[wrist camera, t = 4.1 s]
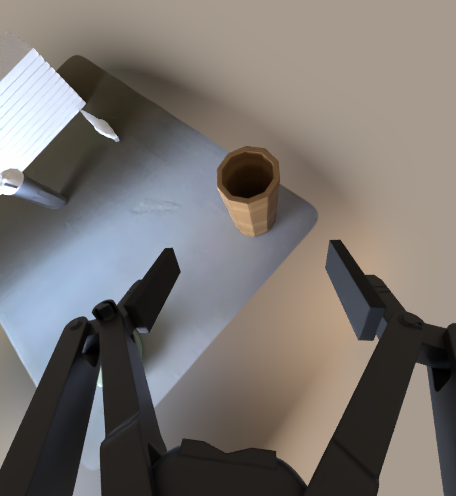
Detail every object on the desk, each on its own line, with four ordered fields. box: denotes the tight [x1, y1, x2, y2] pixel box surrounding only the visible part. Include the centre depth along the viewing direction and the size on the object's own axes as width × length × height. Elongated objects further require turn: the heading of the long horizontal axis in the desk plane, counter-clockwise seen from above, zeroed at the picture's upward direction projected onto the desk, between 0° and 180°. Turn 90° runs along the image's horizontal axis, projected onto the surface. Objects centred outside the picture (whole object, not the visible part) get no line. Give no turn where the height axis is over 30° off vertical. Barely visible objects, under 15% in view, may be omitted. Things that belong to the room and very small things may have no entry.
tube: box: [217, 146, 280, 237], centre depth 26 cm, size 6×7×12 cm
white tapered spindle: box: [78, 108, 120, 142], centre depth 42 cm, size 15×3×2 cm, turn 49°
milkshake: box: [0, 168, 66, 210], centre depth 35 cm, size 4×5×10 cm
